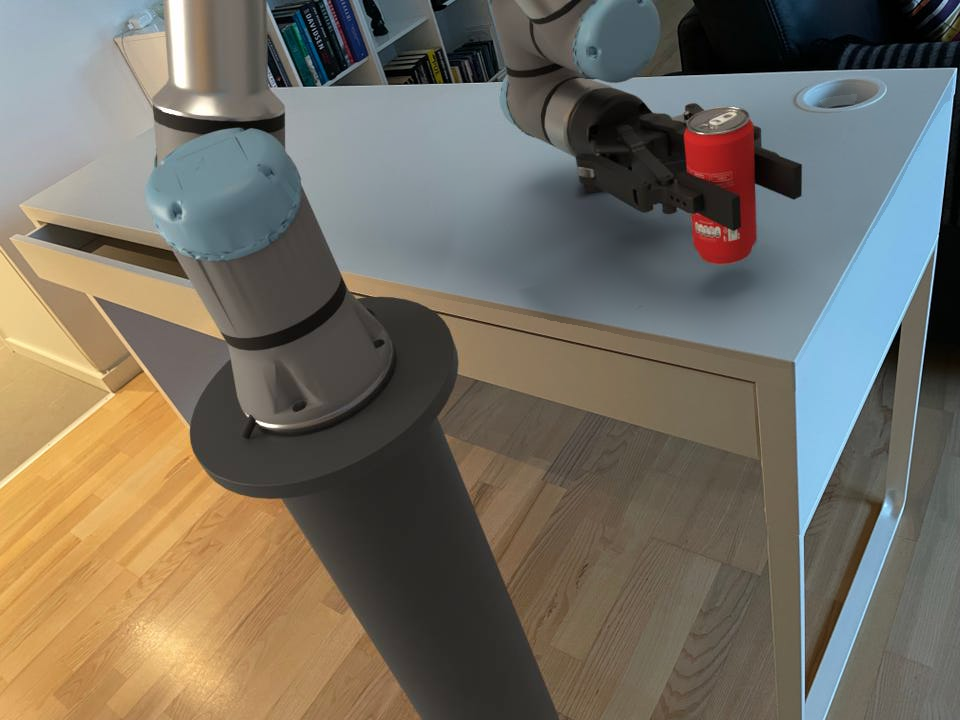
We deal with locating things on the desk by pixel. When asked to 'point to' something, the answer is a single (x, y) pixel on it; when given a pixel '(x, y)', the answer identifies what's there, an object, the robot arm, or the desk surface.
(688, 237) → the desk surface
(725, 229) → the beverage can
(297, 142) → the desk surface
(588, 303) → the desk surface
